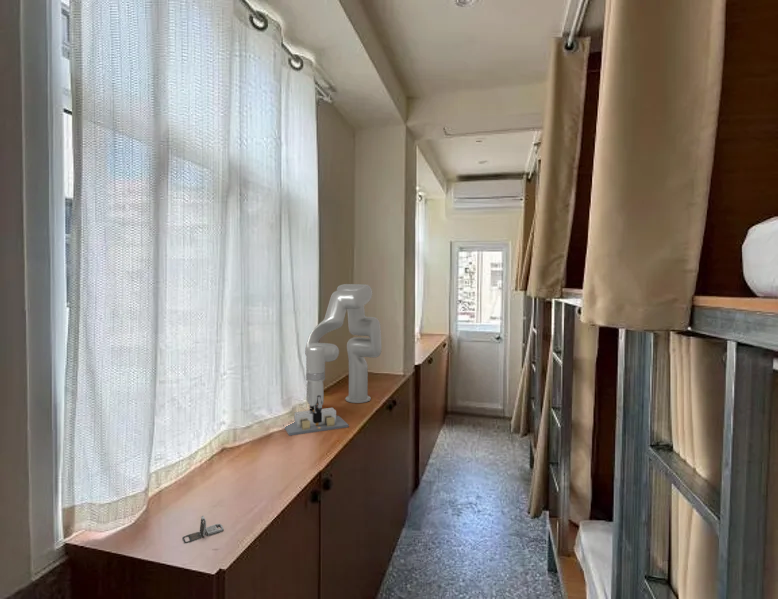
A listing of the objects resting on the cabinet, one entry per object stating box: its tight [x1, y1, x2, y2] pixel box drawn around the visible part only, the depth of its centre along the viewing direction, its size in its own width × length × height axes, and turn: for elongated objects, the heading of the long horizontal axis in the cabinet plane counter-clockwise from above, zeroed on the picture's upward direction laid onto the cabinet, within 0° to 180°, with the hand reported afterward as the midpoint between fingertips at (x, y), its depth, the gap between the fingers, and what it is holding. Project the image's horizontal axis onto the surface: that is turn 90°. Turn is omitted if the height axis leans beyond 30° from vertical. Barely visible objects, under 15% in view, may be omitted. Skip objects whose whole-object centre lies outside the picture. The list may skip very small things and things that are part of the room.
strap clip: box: [182, 515, 225, 544], centre depth 96 cm, size 8×3×4 cm, turn 126°
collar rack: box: [284, 415, 350, 436], centre depth 170 cm, size 13×24×4 cm, turn 115°
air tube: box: [294, 407, 337, 428], centre depth 170 cm, size 5×16×5 cm, turn 115°
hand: (315, 419), depth 170 cm, fingers open, 5 cm apart
